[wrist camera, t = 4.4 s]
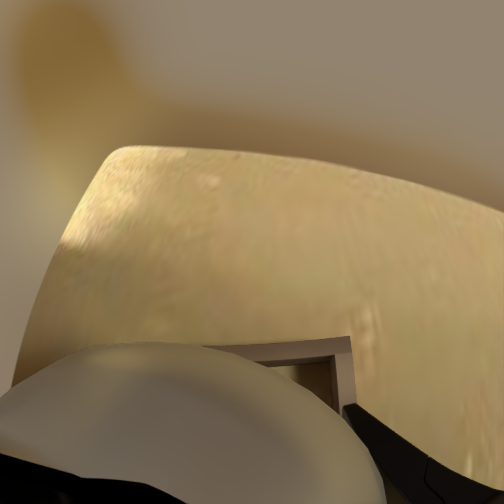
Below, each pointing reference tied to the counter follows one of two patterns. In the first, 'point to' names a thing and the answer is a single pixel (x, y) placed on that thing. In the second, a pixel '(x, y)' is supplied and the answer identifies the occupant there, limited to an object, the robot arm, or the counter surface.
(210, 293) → the counter surface
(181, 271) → the counter surface
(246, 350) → the brown wooden frame
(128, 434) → the metal threaded bottle
